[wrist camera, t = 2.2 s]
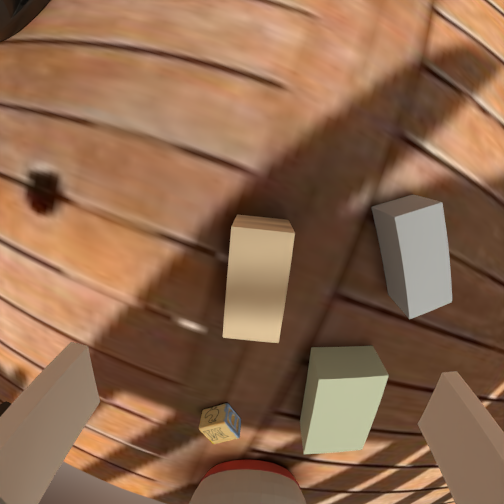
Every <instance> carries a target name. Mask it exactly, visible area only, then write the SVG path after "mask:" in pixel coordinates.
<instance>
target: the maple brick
mask: <svg viewBox="0 0 504 504" xmlns="http://www.w3.org/2000/svg"><path fill="white" fill-rule="evenodd" d="M294 237H295V232H294V230H293V228H292V226H291V224H290V222H289V220H285V219H276V218H266V217H257V216H247V215H237V216H236V218H235V220H234V222H233V224H232V226H231V237H230V249H229V261H228V273H227V286H226V299H225V312H224V326H223V337H224V338H232V339H242V340H252V341H262V342H273V343H279V337H280V331H281V325H282V319H283V313H284V306H285V300H286V293H287V286H288V280H289V273H290V266H291V259H292V251H293V244H294Z"/></svg>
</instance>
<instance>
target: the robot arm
mask: <svg viewBox="0 0 504 504" xmlns="http://www.w3.org/2000/svg"><path fill="white" fill-rule="evenodd" d="M49 1H50V0H0V41H2V40H5V39H7V38H9V37H11V36H12V35H14V34H15V33H17V32H18V31H19V30H21V29H22V28H23V27H24V26H26V25H27V24H28V23H29V22H30V21H31V20H32V19H33V18H34V17H35V16H36V15H37V14H38V13H39V12H40V11H41V10H42V9H43V8H44V7H45V5H46V4H47V3H48V2H49ZM99 403H100V400H99V396H98V391H97V387H96V383H95V379H94V374H93V369H92V365H91V360H90V355H89V349H88V346H86V345H82V344H78V343H74V342H71V343H70V344H69V345H68V346H67V347H66V348H65V349H64V350H63V351H62V352H61V353H60V354H59V355H58V356H57V357H56V358H55V359H54V360H53V361H52V362H51V363H50V364H49V365H48V366H47V367H46V368H45V369H44V370H43V371H42V372H41V373H40V374H39V375H38V376H37V377H36V378H35V379H34V381H33V382H32V383H31V384H30V385H29V386H28V387H27V388H26V389H25V390H24V391H23V392H22V393H21V394H20V395H19V397H18V398H17V399H16V400H15V401H14V402H13V403H12V404H11V403H9V402H7V401H6V402H4V403H2V404H0V504H38V503H39V502H40V500H41V498H42V496H43V494H44V493H45V491H46V489H47V488H48V486H49V484H50V482H51V481H52V479H53V477H54V476H55V474H56V472H57V470H58V469H59V467H60V465H61V464H62V462H63V460H64V459H65V457H66V455H67V454H68V452H69V451H70V449H71V447H72V446H73V444H74V442H75V441H76V439H77V438H78V436H79V434H80V433H81V431H82V429H83V428H84V426H85V425H86V423H87V422H88V420H89V418H90V417H91V415H92V414H93V412H94V410H95V409H96V407H97V406H98V404H99ZM418 426H419V428H420V430H421V432H422V434H423V436H424V438H425V440H426V442H427V444H428V446H429V448H430V450H431V452H432V454H433V456H434V458H435V460H436V462H437V464H438V466H439V468H440V470H441V473H442V475H443V477H444V479H445V481H446V483H447V485H448V488H449V490H450V492H451V494H452V497H453V499H454V501H455V503H456V504H504V433H503V431H502V430H501V428H500V427H499V426H498V424H497V423H496V422H495V420H494V419H493V417H492V416H491V415H490V413H489V412H488V411H487V409H486V408H485V407H484V406H483V404H482V403H481V402H480V400H479V399H478V398H477V396H476V395H475V394H474V393H473V391H472V390H471V389H470V387H469V386H468V385H467V384H466V382H465V381H464V380H463V379H462V377H461V376H460V375H459V374H458V373H457V371H456V372H446V373H442V374H441V377H440V379H439V381H438V383H437V386H436V388H435V390H434V392H433V394H432V397H431V399H430V401H429V403H428V405H427V407H426V409H425V411H424V413H423V415H422V417H421V419H420V421H419V423H418Z"/></svg>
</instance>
